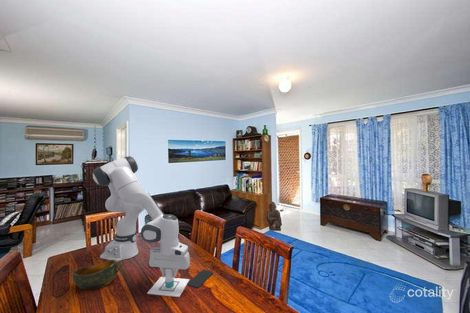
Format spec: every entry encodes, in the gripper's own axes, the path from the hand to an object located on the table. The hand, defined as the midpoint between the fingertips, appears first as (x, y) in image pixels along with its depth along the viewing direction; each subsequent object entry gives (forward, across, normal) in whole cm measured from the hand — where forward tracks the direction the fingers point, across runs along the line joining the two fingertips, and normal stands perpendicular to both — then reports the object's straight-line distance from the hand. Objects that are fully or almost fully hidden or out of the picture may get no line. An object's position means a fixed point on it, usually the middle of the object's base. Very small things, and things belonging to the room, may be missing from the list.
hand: (169, 275), depth 100 cm
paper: (+5, 0, 0) cm, 5 cm away
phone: (+6, +14, +8) cm, 17 cm away
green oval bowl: (+6, -37, -3) cm, 38 cm away
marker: (+5, 0, 0) cm, 5 cm away
